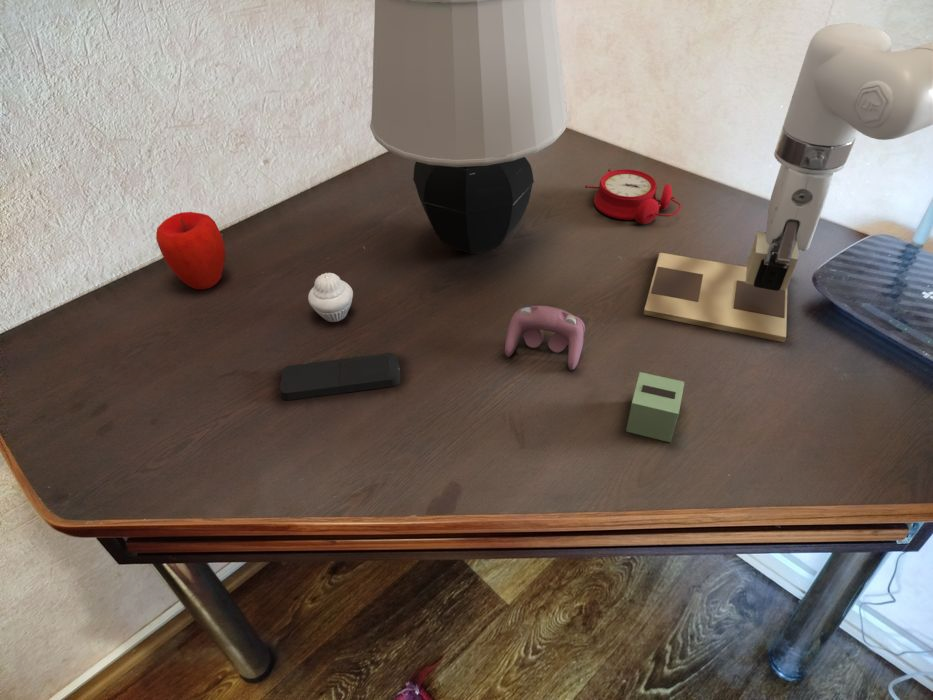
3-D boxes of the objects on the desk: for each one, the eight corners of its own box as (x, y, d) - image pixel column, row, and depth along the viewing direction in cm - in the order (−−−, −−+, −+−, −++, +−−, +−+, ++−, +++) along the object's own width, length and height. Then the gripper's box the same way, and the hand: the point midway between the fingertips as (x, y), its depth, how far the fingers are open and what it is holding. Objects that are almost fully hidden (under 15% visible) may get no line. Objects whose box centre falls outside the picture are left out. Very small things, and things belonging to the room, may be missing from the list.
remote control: (281, 404, 79) (401, 385, 80) (277, 394, 78) (399, 375, 79) (284, 375, 83) (399, 358, 83) (280, 366, 82) (396, 348, 82)
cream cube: (786, 268, 86) (798, 236, 82) (785, 290, 83) (798, 258, 79) (747, 261, 87) (757, 230, 84) (745, 283, 84) (755, 251, 80)
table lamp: (357, 241, 104) (303, -41, 76) (485, 184, 115) (478, -79, 87) (459, 324, 88) (438, 7, 60) (596, 248, 99) (630, -48, 72)
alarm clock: (611, 161, 111) (693, 168, 102) (614, 195, 115) (693, 204, 105) (577, 186, 106) (660, 195, 96) (581, 220, 110) (662, 233, 100)
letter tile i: (676, 410, 75) (684, 381, 72) (670, 442, 72) (678, 413, 68) (633, 400, 77) (639, 371, 73) (625, 431, 73) (631, 402, 70)
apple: (248, 272, 99) (226, 212, 91) (207, 305, 93) (180, 243, 86) (206, 258, 102) (182, 198, 95) (164, 289, 97) (135, 228, 89)
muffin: (354, 328, 88) (345, 288, 83) (310, 330, 88) (299, 290, 84) (359, 299, 93) (351, 260, 88) (317, 301, 93) (306, 262, 88)
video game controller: (581, 362, 84) (590, 311, 81) (576, 373, 80) (585, 319, 77) (509, 347, 86) (516, 297, 84) (500, 357, 82) (507, 305, 80)
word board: (785, 279, 92) (788, 273, 91) (783, 342, 83) (786, 336, 82) (658, 257, 97) (659, 251, 96) (643, 315, 88) (644, 308, 87)
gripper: (853, 188, 65) (796, 321, 78) (846, 118, 77) (797, 244, 89) (775, 178, 68) (732, 308, 80) (779, 111, 79) (741, 235, 92)
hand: (767, 273), depth 85 cm, fingers closed on cream cube, 5 cm apart
